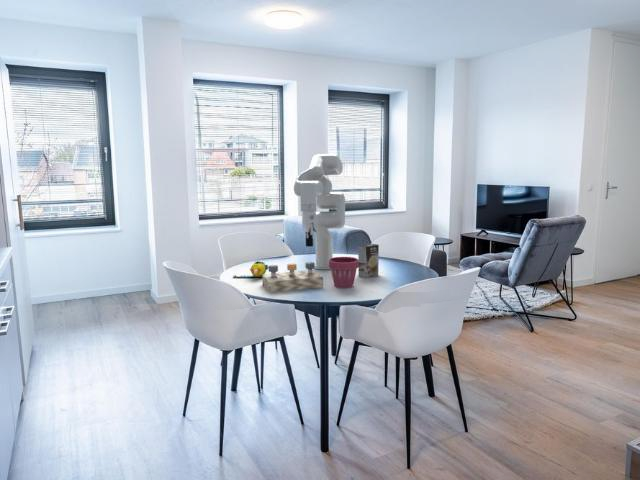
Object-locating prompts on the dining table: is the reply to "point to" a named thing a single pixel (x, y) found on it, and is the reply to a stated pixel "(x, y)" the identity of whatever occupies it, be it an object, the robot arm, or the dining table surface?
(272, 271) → the knob
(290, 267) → the knob mid
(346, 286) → the plant pot
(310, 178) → the robot arm
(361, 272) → the coffee box
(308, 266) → the knob
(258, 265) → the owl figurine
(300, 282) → the console
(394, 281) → the dining table surface
